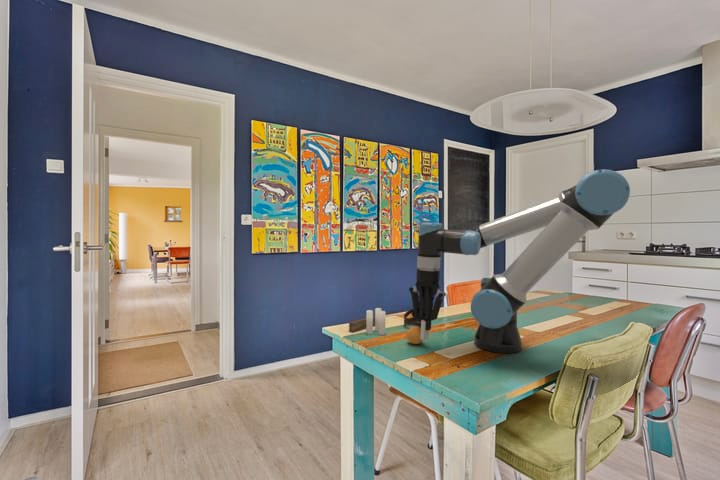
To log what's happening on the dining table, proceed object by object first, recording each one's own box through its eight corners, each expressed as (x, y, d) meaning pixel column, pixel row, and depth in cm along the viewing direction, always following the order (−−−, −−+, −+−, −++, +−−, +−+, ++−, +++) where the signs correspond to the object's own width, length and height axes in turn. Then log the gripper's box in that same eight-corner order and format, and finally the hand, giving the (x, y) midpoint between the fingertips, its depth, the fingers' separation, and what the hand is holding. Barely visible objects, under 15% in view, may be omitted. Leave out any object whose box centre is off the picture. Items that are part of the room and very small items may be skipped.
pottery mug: (432, 331, 141) (423, 314, 139) (410, 340, 143) (401, 323, 141) (428, 315, 152) (420, 299, 150) (407, 324, 154) (399, 308, 152)
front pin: (386, 334, 135) (386, 311, 134) (382, 335, 133) (382, 312, 132) (381, 332, 136) (381, 310, 136) (377, 334, 134) (377, 311, 134)
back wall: (375, 325, 146) (375, 317, 145) (352, 332, 136) (352, 323, 136) (371, 324, 147) (371, 316, 147) (349, 331, 137) (349, 322, 137)
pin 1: (374, 333, 135) (374, 310, 135) (369, 334, 134) (370, 312, 133) (369, 332, 137) (369, 309, 137) (364, 333, 135) (365, 310, 135)
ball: (429, 342, 124) (426, 324, 125) (419, 346, 120) (416, 328, 120) (414, 341, 128) (412, 324, 129) (404, 345, 124) (402, 328, 124)
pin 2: (382, 330, 139) (382, 308, 139) (378, 331, 137) (378, 309, 137) (377, 329, 141) (378, 307, 140) (373, 330, 139) (373, 308, 139)
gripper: (451, 270, 118) (447, 341, 120) (417, 265, 127) (414, 331, 129) (440, 272, 113) (435, 346, 114) (405, 267, 121) (401, 336, 123)
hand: (424, 338), depth 121 cm, fingers closed
